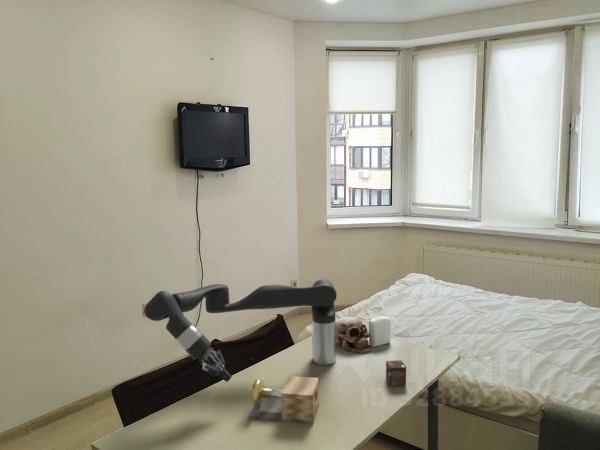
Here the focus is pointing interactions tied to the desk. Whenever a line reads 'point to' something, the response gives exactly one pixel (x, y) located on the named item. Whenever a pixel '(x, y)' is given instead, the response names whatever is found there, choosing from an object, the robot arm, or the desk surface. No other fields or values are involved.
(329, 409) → the desk surface
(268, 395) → the shaft
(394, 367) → the box
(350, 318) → the skull
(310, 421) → the bearing block
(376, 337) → the photo printer
